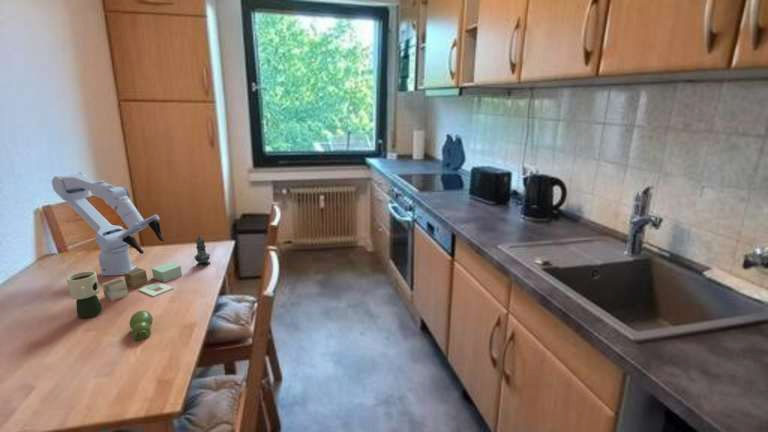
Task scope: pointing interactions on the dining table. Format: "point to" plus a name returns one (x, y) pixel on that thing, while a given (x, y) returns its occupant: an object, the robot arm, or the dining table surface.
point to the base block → (166, 271)
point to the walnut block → (135, 277)
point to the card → (155, 289)
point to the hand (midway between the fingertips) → (152, 246)
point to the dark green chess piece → (201, 253)
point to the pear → (141, 325)
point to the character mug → (85, 293)
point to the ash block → (115, 289)
